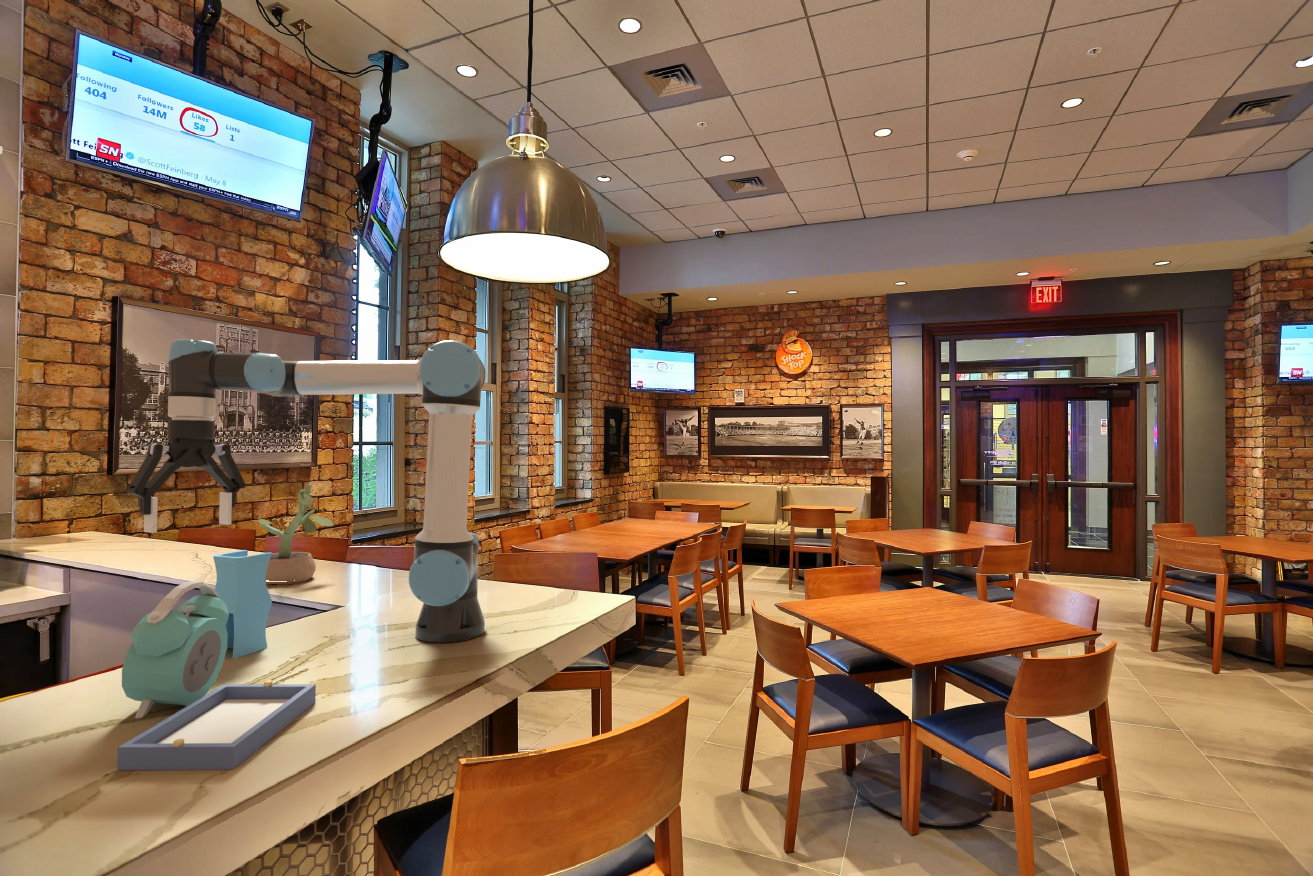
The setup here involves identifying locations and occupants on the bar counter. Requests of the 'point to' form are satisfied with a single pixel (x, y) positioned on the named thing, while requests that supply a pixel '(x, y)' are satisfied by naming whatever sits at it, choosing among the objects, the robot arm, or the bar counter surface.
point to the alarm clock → (176, 649)
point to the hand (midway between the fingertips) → (189, 528)
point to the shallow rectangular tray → (217, 728)
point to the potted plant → (285, 561)
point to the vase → (244, 599)
